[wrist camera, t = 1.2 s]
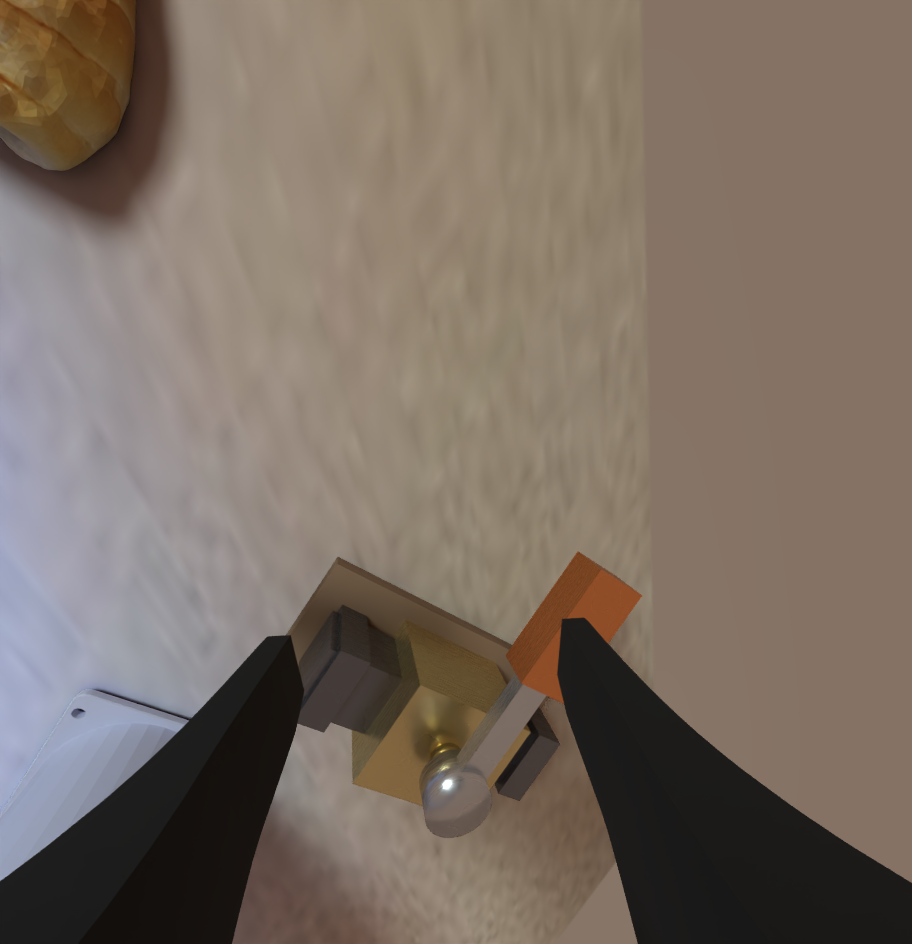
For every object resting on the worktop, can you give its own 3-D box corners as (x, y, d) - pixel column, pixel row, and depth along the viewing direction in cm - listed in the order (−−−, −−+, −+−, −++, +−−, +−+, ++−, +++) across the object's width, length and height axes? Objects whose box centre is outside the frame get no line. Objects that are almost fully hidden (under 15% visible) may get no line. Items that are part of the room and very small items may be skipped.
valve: (493, 752, 25) (530, 851, 20) (288, 673, 21) (269, 772, 15) (541, 684, 24) (591, 766, 19) (344, 590, 20) (343, 663, 15)
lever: (457, 806, 18) (467, 847, 16) (406, 789, 17) (411, 831, 15) (619, 577, 17) (645, 597, 16) (574, 548, 16) (597, 567, 15)
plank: (492, 759, 26) (496, 771, 25) (261, 671, 21) (258, 682, 20) (556, 667, 26) (563, 676, 25) (337, 557, 21) (337, 563, 20)
